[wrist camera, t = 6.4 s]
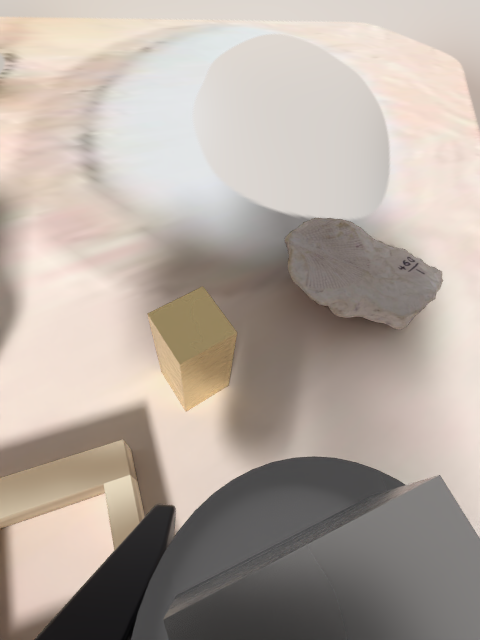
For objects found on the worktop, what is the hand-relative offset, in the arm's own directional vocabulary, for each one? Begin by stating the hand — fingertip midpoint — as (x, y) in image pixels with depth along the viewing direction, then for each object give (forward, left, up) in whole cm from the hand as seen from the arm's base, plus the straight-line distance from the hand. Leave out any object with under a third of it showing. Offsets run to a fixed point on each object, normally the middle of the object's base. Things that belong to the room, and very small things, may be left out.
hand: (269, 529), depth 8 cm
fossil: (+12, -13, -14) cm, 22 cm away
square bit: (+9, -1, -13) cm, 16 cm away
